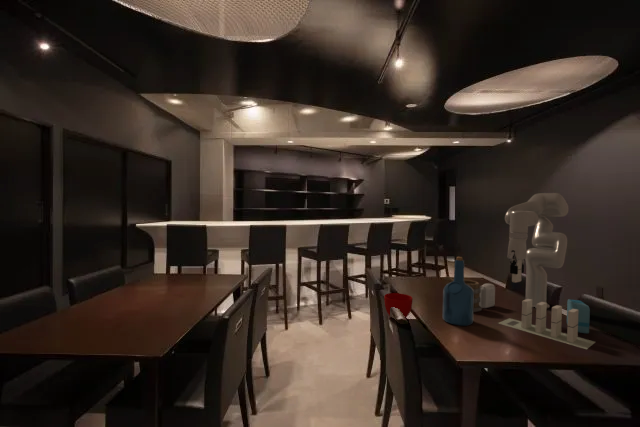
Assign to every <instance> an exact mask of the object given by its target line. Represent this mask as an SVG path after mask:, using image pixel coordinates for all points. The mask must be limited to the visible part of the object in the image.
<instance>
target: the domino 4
mask: <svg viewBox="0 0 640 427" xmlns="http://www.w3.org/2000/svg"><path fill="white" fill-rule="evenodd" d="M562 314H563V305H559V304H556V305H554V306H552V307H551V315H550V316H551V317H550V318H551V320H550V329H551V337H555V338H556V337H558V336H560V335H561V333H562V323H563V322H562V320H563V319H562V316H563V315H562Z"/></svg>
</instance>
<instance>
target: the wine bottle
mask: <svg viewBox="0 0 640 427" xmlns="http://www.w3.org/2000/svg"><path fill="white" fill-rule="evenodd" d="M453 267H454V271H453V280H454V281H453V282H450V281H449V282H450V283H449V282H448V283H446V285H444V287H443V290H442V315H441V316H442V320H443V321H445V322H446V323H448V324H451V325H455V326H461V327H463V326H465V327H467V326H471V325H473V322H474V313H475V312H474V290H473V289H472V287H470V286H469V285H467V284H466V283H465V282H464V280H465V260H464V259H463V256H456V259H454V265H453Z"/></svg>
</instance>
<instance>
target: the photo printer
mask: <svg viewBox="0 0 640 427" xmlns="http://www.w3.org/2000/svg"><path fill="white" fill-rule="evenodd" d="M479 288H481V293H479V297H480V302H479V306H480V307H481V308H482V309H487V308H492V307H495V304H496V303H495V301H496V286H495V285H494V284H493V283H483V284H482V285H480V286H479Z"/></svg>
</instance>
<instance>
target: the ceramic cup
mask: <svg viewBox="0 0 640 427" xmlns="http://www.w3.org/2000/svg"><path fill="white" fill-rule="evenodd" d="M383 297H384V307H385V311H386V314H388V315H389V317H390V308H391V307H395V308H398V309H400V311H401V312H402V313H403V315H404V316H405V317H406V318H407V317H409V315H410V313H411V311H412V307H413V300H414V299H413V296H411V295H408V294H406V293H405V294H404V293H400V292H399V293H398V292H389V293H386V294H385V295H384V296H383Z"/></svg>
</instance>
